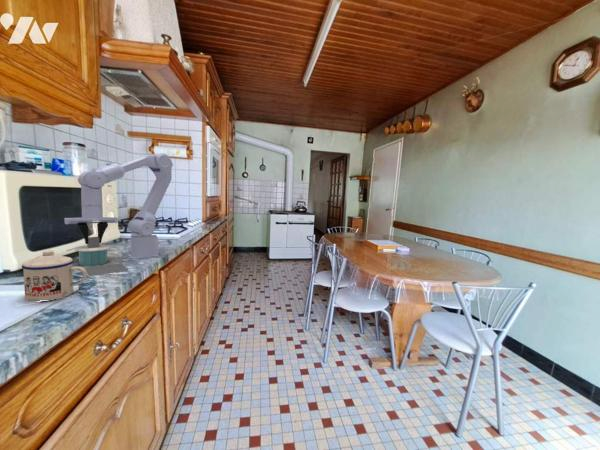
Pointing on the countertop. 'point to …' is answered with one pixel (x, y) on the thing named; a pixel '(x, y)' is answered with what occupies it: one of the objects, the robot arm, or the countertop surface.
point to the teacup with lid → (49, 277)
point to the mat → (106, 269)
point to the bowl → (92, 258)
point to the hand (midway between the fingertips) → (93, 243)
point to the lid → (92, 246)
